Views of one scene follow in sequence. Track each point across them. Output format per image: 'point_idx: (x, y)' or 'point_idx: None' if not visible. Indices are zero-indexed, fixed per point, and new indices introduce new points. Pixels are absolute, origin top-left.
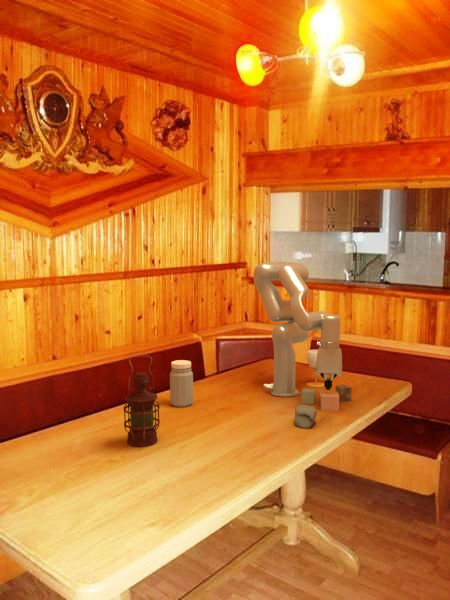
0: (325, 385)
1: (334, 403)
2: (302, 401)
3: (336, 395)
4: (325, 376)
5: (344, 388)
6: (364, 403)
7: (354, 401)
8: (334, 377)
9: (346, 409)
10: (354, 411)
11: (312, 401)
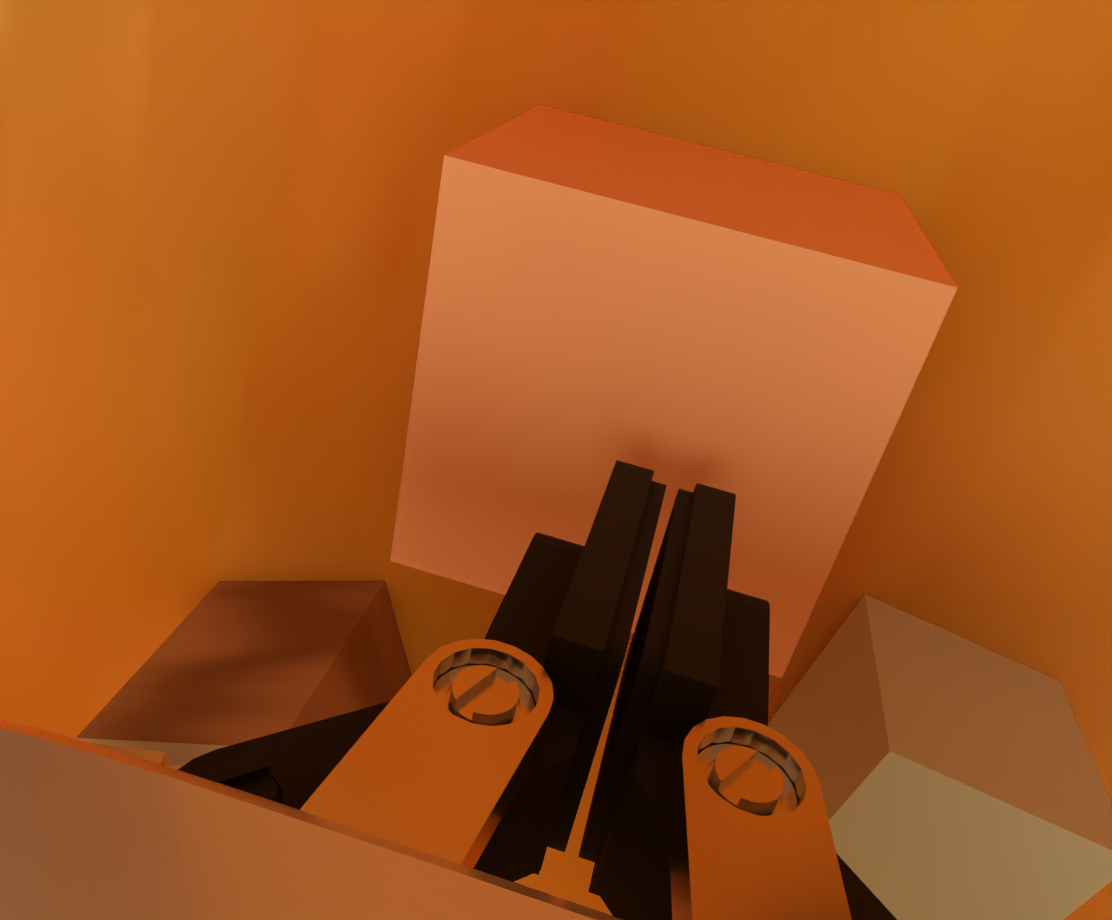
0: (739, 618)
1: (608, 151)
2: (1055, 697)
3: (493, 283)
4: (767, 877)
5: (212, 736)
6: (44, 440)
7: (177, 556)
8: (328, 740)
9: (373, 176)
10: (246, 18)
11: (890, 629)
